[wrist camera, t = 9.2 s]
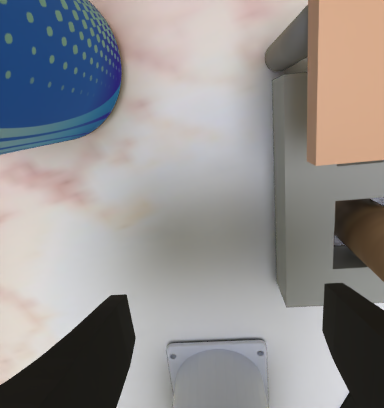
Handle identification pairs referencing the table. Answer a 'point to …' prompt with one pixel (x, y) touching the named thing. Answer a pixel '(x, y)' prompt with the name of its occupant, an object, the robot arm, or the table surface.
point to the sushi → (349, 402)
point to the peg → (362, 231)
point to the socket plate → (314, 206)
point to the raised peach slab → (339, 77)
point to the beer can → (54, 72)
